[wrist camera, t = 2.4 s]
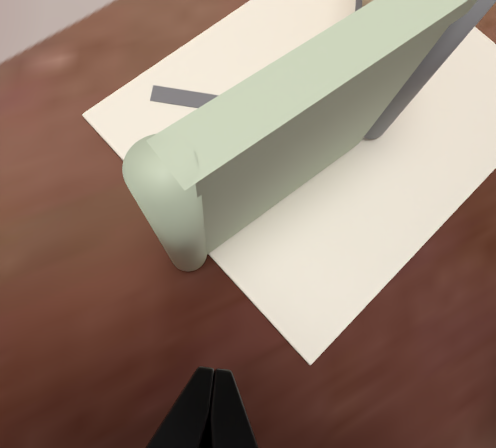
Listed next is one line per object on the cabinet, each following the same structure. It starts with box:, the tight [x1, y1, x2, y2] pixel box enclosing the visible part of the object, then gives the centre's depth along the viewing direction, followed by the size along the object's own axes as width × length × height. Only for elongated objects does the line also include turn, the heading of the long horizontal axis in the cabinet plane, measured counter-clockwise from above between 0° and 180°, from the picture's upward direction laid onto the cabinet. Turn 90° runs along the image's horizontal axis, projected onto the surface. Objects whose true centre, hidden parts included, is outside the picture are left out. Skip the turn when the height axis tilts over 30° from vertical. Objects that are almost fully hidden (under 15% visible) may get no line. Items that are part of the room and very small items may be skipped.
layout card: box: [82, 0, 496, 365], centre depth 22 cm, size 18×23×1 cm
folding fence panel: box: [122, 0, 496, 272], centre depth 15 cm, size 14×2×10 cm, turn 128°
